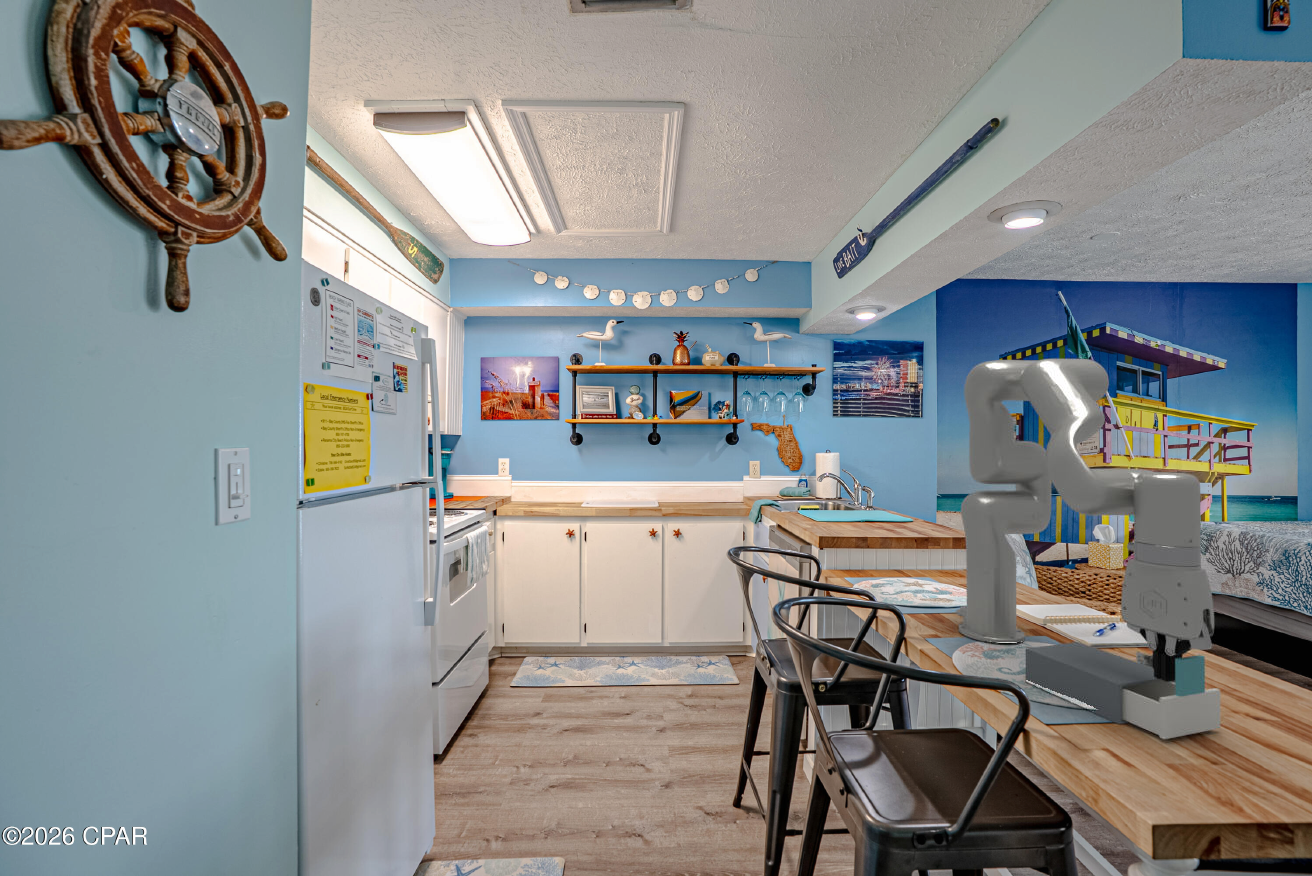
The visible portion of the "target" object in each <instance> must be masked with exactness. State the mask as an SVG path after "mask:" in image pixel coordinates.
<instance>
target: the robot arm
mask: <svg viewBox="0 0 1312 876" xmlns="http://www.w3.org/2000/svg"><path fill="white" fill-rule="evenodd" d="M1109 386H1110V380H1109V375H1108V373H1107V371H1106V368H1104V367H1103V366H1102V365H1101V364H1100V363H1098V362H1097V361H1095V360H1092V359H1086V358H1044V359H1039V360H1032V359H1031V360H1029V359H1028V360H1026V359H1025V360H1023V359H1021V360H1020V359H999V360H997V359H996V360H990V361H989V360H988V361H984V362H981V363H979V364H977V365H975V366H974V367H972V368H971V370H970V371H969V373H968V375H967V376H966V379H965V382H964V387H963V388H964V392H963V393H964V396H963V397H964V402H965V406H966V410H967V415H968V422H969V433H968V434H969V435H968V436H969V438H968V439H969V440H968V441H969V442H968V443H969V447H968V450H969V451H968V452H969V455H968V458H969V459H968V460H969V461H968V462H969V463H968V464H969V473H970V476H971V478H972V479H973V480H974V481H975V482H978V483H980V484H984V485H1014V486H1015V487H1014V488H1015V490H1005V489H1004V490H1003V489H1002V490H999V489H997V490H996V489H995V490H980V491H974V492H972V493H969V494H968V495H967V496H965V497H964V498H963V501H962V503H961V506H960V514H961V520H962V524H963V530H964V537H965V553H966V555H965V557H966V558H965V559H966V606H965V605H962V606H960V607H959V609H956V610H955V614H956V615H957V616H959V617H962V621H963V622H962V623H960V624H958V632H959V633H961V634H962V635H964V636H965V637H967V638H970V639H974V640H977V641H980V642H984V641H987V642H986V643H990V641H991V642H1021V641H1023V642H1025V640H1026V634H1025V632H1024V631H1022V630H1021V629H1019V628H1017V557H1016V554H1015V551H1014V548H1013V547H1012V545H1011V543H1010V542H1009V541H1008V539H1007V537H1006V536H1007V535H1030V534H1034V535H1035V534H1037V533H1041V532H1043V531H1045V530H1046V528H1047V527H1048V525H1049V524H1050V521H1051V517H1052V516H1051V515H1052V484H1053V486H1054V488H1055V489H1056V491H1057V493H1058V495H1059V496H1060V498H1061V499H1062V500H1063V501H1064V503H1065V504H1066V505H1067V506H1068V507H1069V508H1070V509H1072V510H1073V511H1075V512H1076V513H1078V514H1081V515H1085V516H1133V531H1134V532H1133V535H1134V536H1133V538H1134V539H1133V541H1130V542H1128V543H1127V545H1126V546H1127V547H1126V548H1127V550H1128V551H1132V552H1133V556H1134V557H1133V558H1134V559H1128V562H1127V563H1126V567H1125V568H1126V569H1125V572H1124V577H1123V579H1122V580H1123V581H1122V589H1121V590H1122V591H1121V598H1120V599H1121V601H1120V602H1121V603H1120V604H1121V605H1120V614H1121V619H1122V620H1123V621H1124V622H1125V623H1126V627H1127V628H1128V629H1129V630H1132V631H1133V632H1135V633H1137V634H1140V635H1141V636H1142V638H1143V639H1144V640H1145V642H1146V643H1147V647H1148V649H1150V650H1151V651H1152V655H1153V669H1154V677H1155V678H1158V679H1162V680H1163V681H1166V682H1170V681H1175V659H1176V658H1183V655H1186V654H1187V653H1188V652H1189V651H1191V650H1199V651H1200V650H1201V651H1202V650H1203V651H1204V650H1205V651H1206V650H1211V649H1212V648H1213V644H1212V640H1211V637H1212V636H1213V635H1214V631H1215V613H1214V612H1215V611H1214V609H1215V608H1214V601H1213V593H1212V588H1211V584H1210V581H1209V577H1208V573H1207V570H1206V569H1205V568H1203V567H1202V555H1201V554H1202V552H1201V551H1202V548H1201V545H1202V543H1201V541H1202V540H1201V537H1202V536H1201V484H1200V483H1201V482H1200V481H1199V479H1198V478H1197V476H1195V475H1194V474H1189V473H1185V472H1169V471H1168V472H1166V471H1165V472H1164V471H1163V472H1160V471H1159V472H1157V471H1153V470H1149V469H1148V470H1147V469H1144V468H1143V469H1141V468H1090V466H1088V464H1087V463H1086V461H1085V460H1084V459H1083V457H1082V456H1081V454H1080V453H1079V451H1078V449H1077V445H1078V444H1080V443H1082V442H1084V441H1086V440H1088V439H1090V438H1091V437H1093V436H1095V435H1096V434H1097V433H1098V432H1099V431H1100V430H1101V429H1102V428H1103V426H1104V424H1105V420H1106V417H1105V414H1104V412H1103V411H1102V410H1101V408H1100V407H1099V406H1098V404H1097V403H1096V402H1097V401H1099V400H1101V399H1102V398H1103V397H1104V396H1105V395H1106V393H1107V391H1108V389H1109ZM1003 401H1004V402H1005V401H1013V402H1014V401H1015V402H1016V401H1018V402H1019V401H1020V402H1021V401H1022V402H1027V401H1028V402H1029V403H1030V405H1031V406H1032V407H1033V409H1034V411H1035V412H1036V414H1037V416H1039V418H1040V420H1041V421H1042V423H1043V425H1044V426H1045V427H1046V429H1047V431H1048V432H1049V434H1050V435H1051V436H1050V439H1049V441H1048V443H1047V446H1046V448H1044V447H1043V446H1042V445H1041V444H1039V443H1038V442H1035V441H1034V442H1033V441H1026V440H1017V441H1016V440H1015V433H1014V432H1015V422H1014V421H1015V420H1014V418H1013V416H1012V414H1011V413H1010V411H1009V409H1008V407H1006V405H1005V404H1004V403H1003ZM1021 643H1022V642H1021Z"/></svg>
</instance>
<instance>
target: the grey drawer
mask: <svg viewBox="0 0 1312 876" xmlns="http://www.w3.org/2000/svg"><path fill="white" fill-rule="evenodd" d="M1205 660H1206V657H1205V655H1199V654H1198V655H1191V656H1185V657H1184V656H1182V658H1176V659H1175V683H1174V682H1171V681H1170V682H1166V681H1163V680H1161V681H1155V682H1148V683H1142V684H1136V685H1129V686H1123V687H1122V719H1123V720H1126V721H1128V722H1130V724H1132V725H1135V726H1137V727H1139V728H1142V729H1144V730H1147V731H1149V732H1150V733H1151V732H1152V733H1154V734H1156V735H1158V736H1159V738H1160V739H1162V740H1169V739H1173V738H1177V737H1183V736H1187V735H1188V736H1189V735H1192V734H1193V735H1194V734H1198V733H1202V732H1209V731H1213V730H1217V729H1221V689H1220V688H1215V687H1214V688H1208V689H1206V685H1205V684H1206V681H1205V680H1206V679H1205V678H1206V677H1205V676H1206V671H1205V670H1206V667H1205V665H1206V664H1205V663H1206V661H1205Z"/></svg>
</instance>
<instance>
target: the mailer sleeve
mask: <svg viewBox="0 0 1312 876" xmlns="http://www.w3.org/2000/svg"><path fill="white" fill-rule="evenodd" d="M1026 680H1028V681H1031V682H1033V683H1035V684H1038V685H1040V686H1042V687H1044V688H1048V689H1050V690H1052V691H1055V692H1057V693H1060V694H1062V695H1066V696H1068V697H1071V698H1075V699H1077V700H1079V701H1081V702H1084V703H1086V704H1087V705H1090V706H1093V707H1094V708H1096V709H1098V710H1096V711H1094V713H1093V714H1095V713H1096V714H1095V715H1097V714H1098V716H1099V715H1100V717H1102V716H1103V717H1102V718H1104V717H1105V718H1104V719H1106V718H1107V719H1106V720H1108V719H1109V720H1108V721H1111V722H1113V723H1115V724H1117V725H1124V724H1129V723H1130V722H1128V721H1126V720H1123V719H1122V687H1123V686H1129V685H1136V684H1142V683H1148V682H1155V681H1161V680H1162V679H1158V678H1155V677H1154V669H1153V667H1150V666H1147V665H1144V664H1141V663H1138V662H1137V661H1134V660H1132V659H1129V658H1126V657H1123V656H1120V655H1117V654H1115V653H1114V654H1113V653H1111V652H1108V651H1105V650H1102V649H1099V648H1096V647H1093V646H1092V645H1088V644H1084V643H1082V642H1078V641H1073V642H1066V643H1060V644H1059V643H1058V644H1050V645H1042V646H1036V647H1035V646H1034V647H1026V648H1025V681H1026ZM1171 682H1174V683H1175V681H1171ZM1130 724H1131V723H1130Z"/></svg>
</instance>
